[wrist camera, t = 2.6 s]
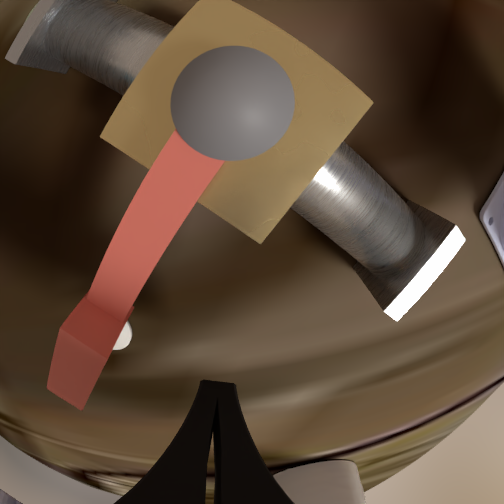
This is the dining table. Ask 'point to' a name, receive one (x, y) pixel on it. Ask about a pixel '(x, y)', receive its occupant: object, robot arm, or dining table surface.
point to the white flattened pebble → (124, 337)
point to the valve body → (271, 161)
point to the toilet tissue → (323, 483)
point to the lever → (173, 196)
